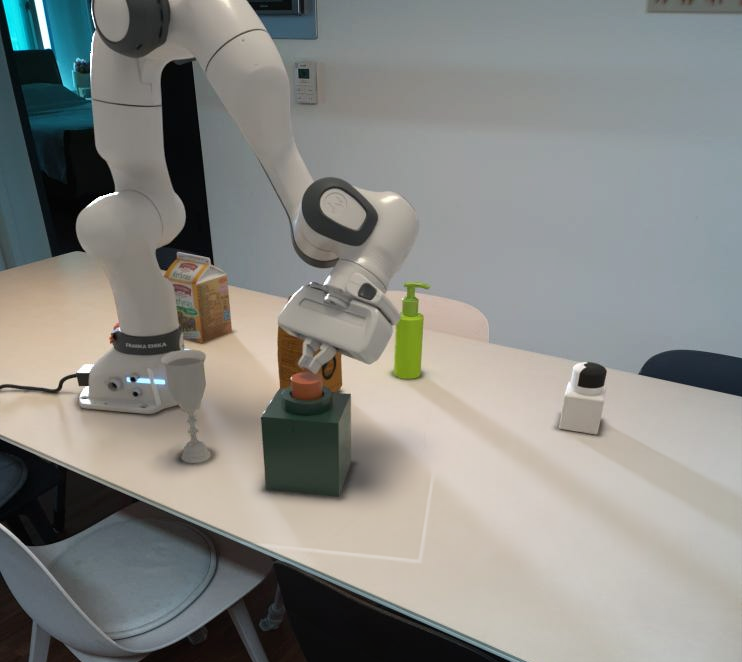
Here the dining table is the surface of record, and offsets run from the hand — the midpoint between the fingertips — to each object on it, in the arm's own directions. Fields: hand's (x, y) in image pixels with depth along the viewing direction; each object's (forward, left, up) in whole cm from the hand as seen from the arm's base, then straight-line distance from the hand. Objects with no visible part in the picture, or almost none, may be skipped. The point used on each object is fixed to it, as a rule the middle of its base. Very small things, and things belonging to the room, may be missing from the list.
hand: (306, 369), depth 110 cm
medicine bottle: (+51, +20, -19) cm, 58 cm away
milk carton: (-30, +71, -19) cm, 79 cm away
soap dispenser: (+20, +45, -19) cm, 53 cm away
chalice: (-20, +7, -19) cm, 29 cm away
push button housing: (0, 0, -19) cm, 19 cm away
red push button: (0, 0, -4) cm, 4 cm away
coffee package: (-1, +33, -19) cm, 38 cm away
